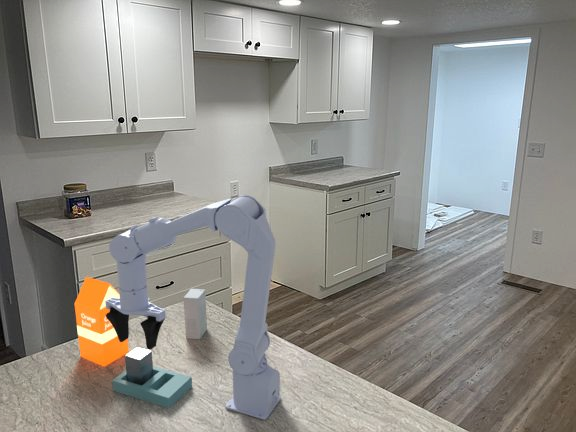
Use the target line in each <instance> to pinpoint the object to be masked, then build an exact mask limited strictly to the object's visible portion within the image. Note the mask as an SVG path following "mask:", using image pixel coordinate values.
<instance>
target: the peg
mask: <svg viewBox="0 0 576 432" xmlns="http://www.w3.org/2000/svg"><path fill="white" fill-rule="evenodd" d="M124 360H125V361H124V362H125V371H126V374H127V381H128V382H131V383H134V384H138V385H141V386H142V385H144V384H145V383H146V382H147V381H148V380H150V379H151V378H152V377H153V376H154V375H153V366H154V363H153V351H152V349H151V350H148V349H147V348H142V347H140V346H136V347H135V348H134V349H133V350H131V351H129V352H128V353H127V354H125V355H124Z"/></svg>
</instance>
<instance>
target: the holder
mask: <svg viewBox="0 0 576 432" xmlns="http://www.w3.org/2000/svg"><path fill="white" fill-rule="evenodd" d="M153 375H154V376H153V377H152V378H151V379H150V380H148V381H147V382H146V383H145V384H144V385H142V386H141V385H138V384H134V383H131V382H128V381H127V374H126V370H124V371H123V372H121V373H120V374H119V375H117V376H115V378H114V379H112V380H111V381H112V382H111V383H112V391H114V392H117V393H120V394H123V395H127V396H130V397H131V398H132V397H133V398H135V399H137V400H142V401H144V402H148V403H152V404H153V405H157V406H161V407H164V408H166V409H171V408H172V406H173V405H175V404H176V403H177V402H178V401H179V400H180V399H181V398H182V397H183V396H184V395H185V394H186V393H187V392H188V391H189V390H191V388H193V380H192V379H193V378H192V376H190V375H186V374H183V373H179V372H176V371H172V370H169V369H165V368H163V367H158V366H155V365H153Z"/></svg>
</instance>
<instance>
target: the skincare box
mask: <svg viewBox="0 0 576 432" xmlns="http://www.w3.org/2000/svg"><path fill="white" fill-rule="evenodd" d="M206 294H207V293H206V289H202V288H201V289H199V288H190V289H189V290H188V292H187V293H186V294H185V295H184V297H183V311H184V313H183V315H184V326H185V327H184V329H185V338H186V339H189V340H191V339H192V340H201V339H202V338H203V336H204V335H205V333H206V331H207V330H208V323H207V322H208V321H207V318H208V317H207V301H206V299H207V297H206Z"/></svg>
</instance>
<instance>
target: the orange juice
mask: <svg viewBox="0 0 576 432" xmlns="http://www.w3.org/2000/svg"><path fill="white" fill-rule="evenodd" d="M110 298H120V295H119V292H118V291H117V290H116V289H115V288H114V286H112V285H111V283H108V282H106V281H102V280H99V279H95V278H92V277H88V276H85V278H84V281H83V283H82V284H81V288H80V291H79V293H78V295H77V297H76V299H75V302H74V310H75V321H76V329H77V331H76V332H77V337H78V345H79V354H80V355H79V356H80V357H81V358H83V359H85V360H88V361H90V362H91V363H95V364H97V365H99V366H102V367H106V366H108V365H110V364H112V363H113V362H114V361H116V360H118V359H120V358H122V357H123V356H125V355H127V354H128V353H130V351H129V350H130V349H129V338H128V339H126V340H125V341H123V342H120V341H119V339H118V336H117V334H116V331H115V329H114V327H113V326H112V324H111V323H110V321H109V320H108V319H107V318H106V314H107V313H109V312H110V310H109V309H106V303H105V301H106V300H108V299H110Z"/></svg>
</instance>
